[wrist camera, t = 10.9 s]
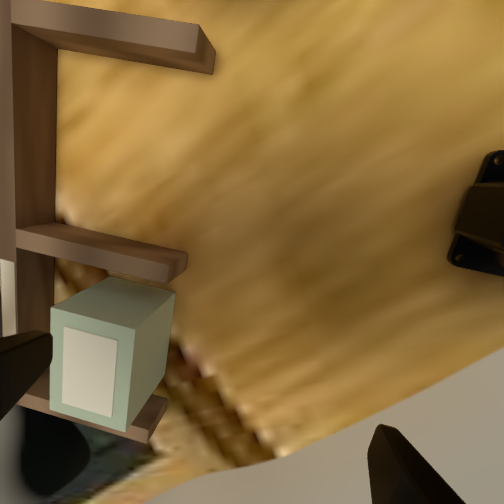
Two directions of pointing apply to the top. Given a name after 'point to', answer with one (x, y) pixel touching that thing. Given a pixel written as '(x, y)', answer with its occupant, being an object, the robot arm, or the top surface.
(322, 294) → the top surface
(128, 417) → the frame block
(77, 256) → the walnut comb rail
